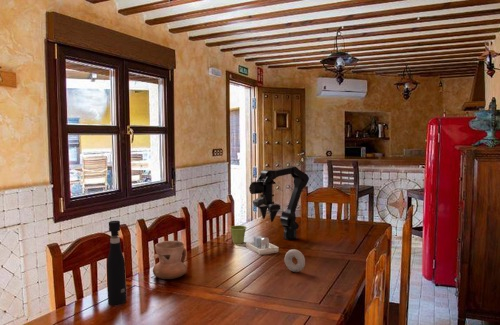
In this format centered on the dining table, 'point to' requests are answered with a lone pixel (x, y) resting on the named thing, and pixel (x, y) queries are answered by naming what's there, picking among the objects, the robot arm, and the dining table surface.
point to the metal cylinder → (264, 243)
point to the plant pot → (238, 234)
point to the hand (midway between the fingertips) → (267, 220)
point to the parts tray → (260, 251)
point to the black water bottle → (116, 268)
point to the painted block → (257, 241)
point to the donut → (300, 260)
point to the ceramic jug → (170, 260)
